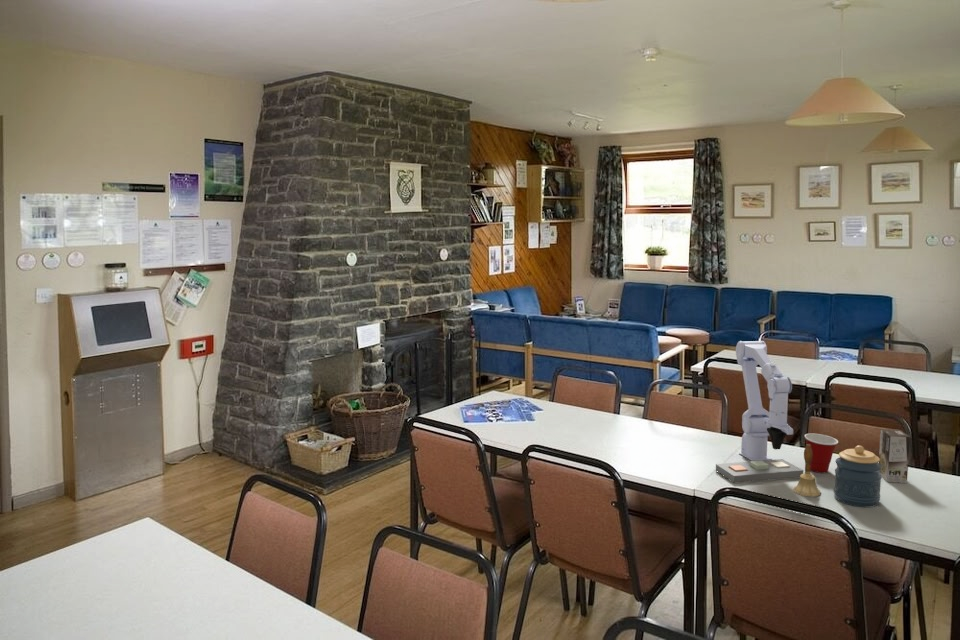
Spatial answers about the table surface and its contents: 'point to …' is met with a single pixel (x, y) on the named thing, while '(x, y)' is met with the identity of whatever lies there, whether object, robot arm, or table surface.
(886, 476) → the coffee box
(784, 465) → the cream key
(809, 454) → the hand bell
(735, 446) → the table surface
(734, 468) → the terracotta key
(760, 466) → the sage key
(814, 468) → the plastic cup
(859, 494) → the canister
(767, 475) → the keypad
